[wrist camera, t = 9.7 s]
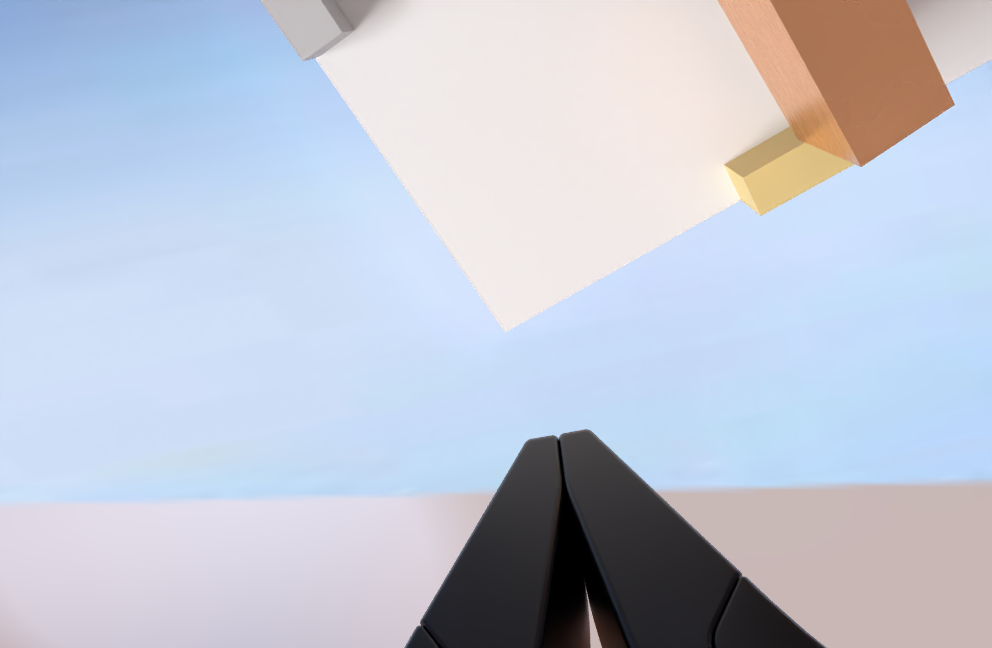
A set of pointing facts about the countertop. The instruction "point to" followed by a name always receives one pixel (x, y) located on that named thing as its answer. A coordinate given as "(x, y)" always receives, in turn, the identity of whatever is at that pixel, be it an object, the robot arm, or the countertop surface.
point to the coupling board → (575, 123)
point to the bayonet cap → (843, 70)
